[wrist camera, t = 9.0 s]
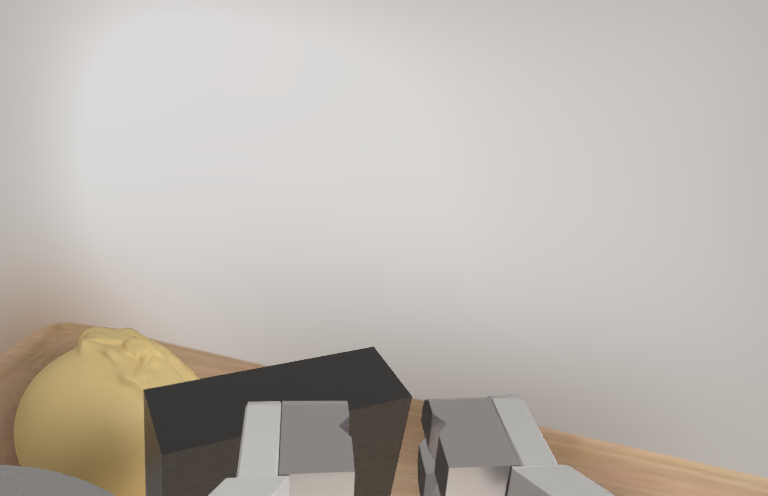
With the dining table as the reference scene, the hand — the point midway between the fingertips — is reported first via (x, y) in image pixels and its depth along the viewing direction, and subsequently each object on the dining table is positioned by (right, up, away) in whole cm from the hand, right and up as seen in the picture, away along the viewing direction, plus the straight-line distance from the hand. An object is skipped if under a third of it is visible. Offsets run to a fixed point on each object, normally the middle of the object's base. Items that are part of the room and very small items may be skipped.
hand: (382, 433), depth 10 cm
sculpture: (-20, -14, +37) cm, 44 cm away
